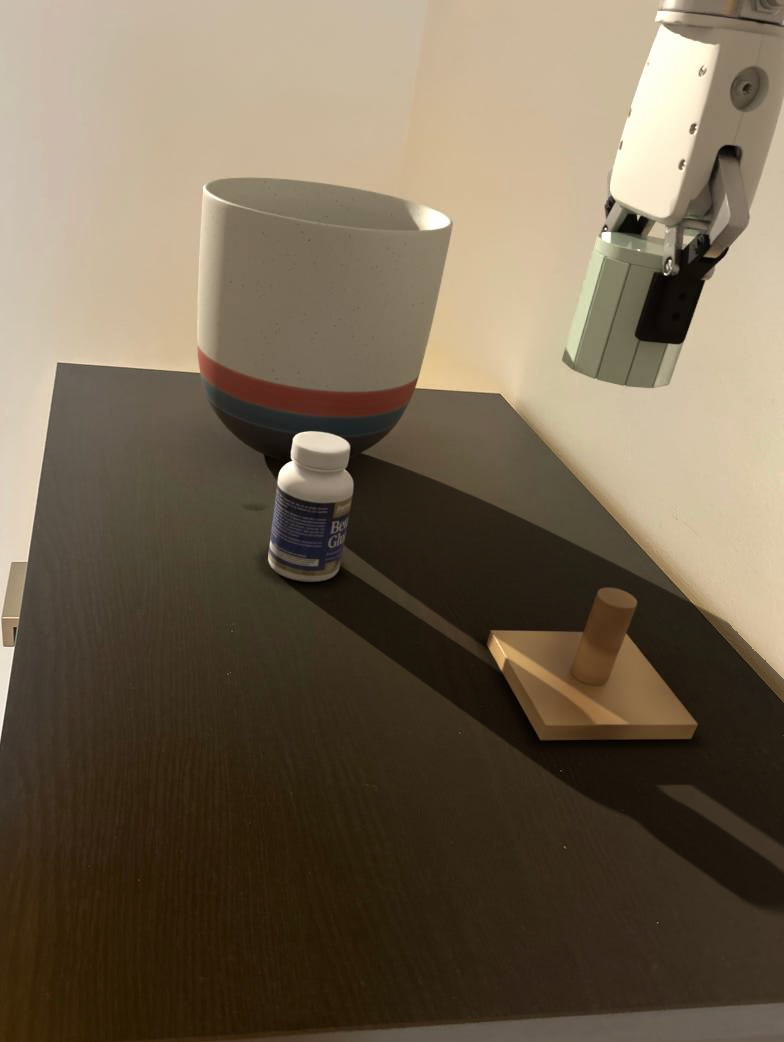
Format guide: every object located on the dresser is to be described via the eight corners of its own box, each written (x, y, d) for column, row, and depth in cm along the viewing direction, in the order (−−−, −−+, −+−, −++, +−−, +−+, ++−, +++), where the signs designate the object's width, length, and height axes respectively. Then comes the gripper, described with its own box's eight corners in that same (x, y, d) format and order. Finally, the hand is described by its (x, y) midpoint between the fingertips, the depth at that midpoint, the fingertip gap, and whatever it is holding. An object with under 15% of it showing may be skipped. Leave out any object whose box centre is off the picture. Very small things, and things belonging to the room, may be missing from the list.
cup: (641, 356, 67) (679, 238, 63) (688, 391, 61) (734, 264, 57) (547, 348, 66) (580, 227, 62) (587, 383, 60) (626, 252, 56)
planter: (376, 415, 98) (415, 193, 86) (430, 502, 82) (487, 242, 70) (181, 403, 94) (194, 168, 82) (196, 492, 77) (215, 213, 66)
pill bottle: (334, 590, 67) (356, 463, 61) (260, 576, 67) (276, 448, 62) (343, 556, 71) (364, 434, 66) (274, 543, 72) (289, 421, 66)
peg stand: (620, 646, 65) (653, 559, 62) (691, 739, 57) (734, 645, 54) (486, 644, 63) (511, 554, 60) (540, 740, 55) (574, 643, 51)
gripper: (890, 14, 46) (750, 370, 56) (713, 9, 60) (627, 294, 70) (754, -9, 44) (635, 360, 54) (606, -9, 59) (532, 284, 68)
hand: (631, 321), depth 62 cm, fingers closed on cup, 7 cm apart
